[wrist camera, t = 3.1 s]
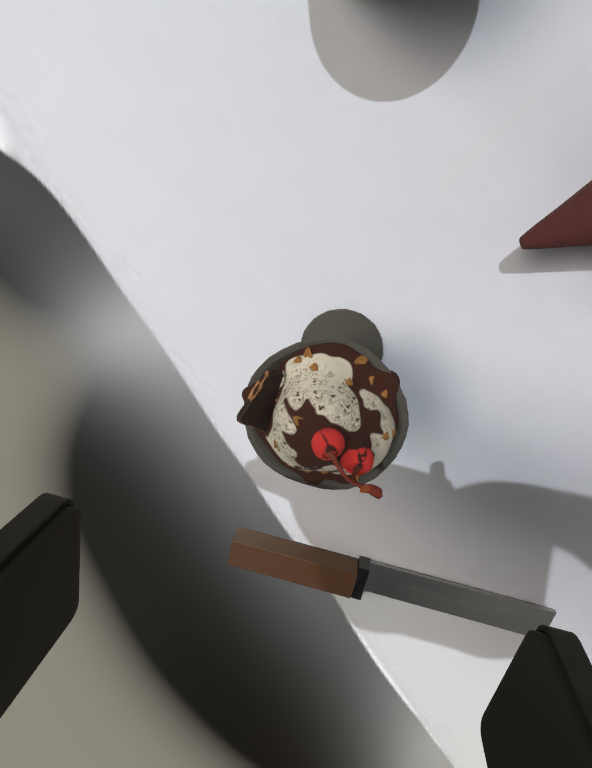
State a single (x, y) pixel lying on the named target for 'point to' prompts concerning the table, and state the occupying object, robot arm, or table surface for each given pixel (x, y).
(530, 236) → the icecream
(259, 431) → the sundae
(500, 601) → the knife
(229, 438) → the table surface
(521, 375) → the table surface
